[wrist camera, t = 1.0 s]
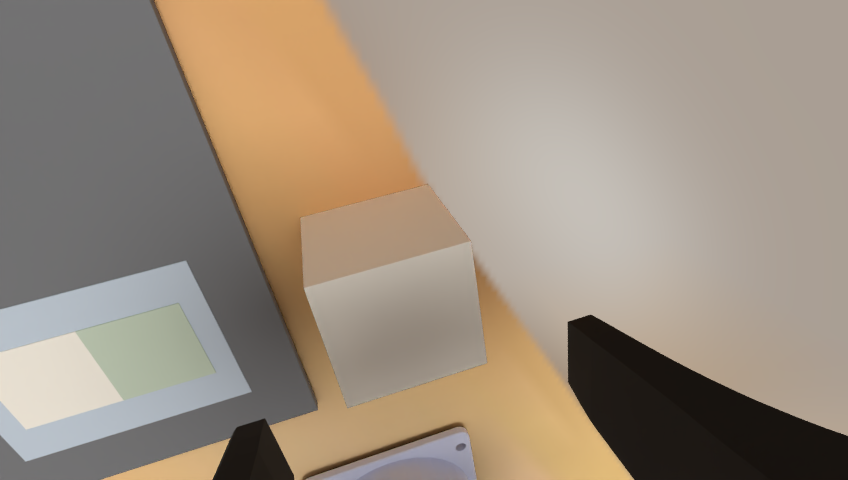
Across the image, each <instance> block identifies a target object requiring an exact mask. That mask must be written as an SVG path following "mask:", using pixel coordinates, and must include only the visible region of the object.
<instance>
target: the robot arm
mask: <svg viewBox="0 0 848 480" xmlns="http://www.w3.org/2000/svg"><path fill="white" fill-rule="evenodd" d="M568 382H569V384H570V386H571V388H572V390H573V392H574V393H575V395H576V397H577V399H578V400H579V402H580V404H581V406H582V407H583V409H584V411H585V412H586V414H587V416H588V417H589V419H590V421H591V422H592V423H593V425H594V426H595V428H596V429H597V430H598V432H599V433H600V434H601V436H602V437H603V438H604V440H605V441H606V442H607V444H608V445H609V446H610V448H611V449H612V451H613V452H614V453H615V454H616V456H617V457H618V458H619V460H620V461H621V462H622V464H623V465H624V466H625V468H626V469H627V470H628V472H629V473H630V474H631V476H632V477H633V478H634V480H848V436H846V435H844V434H841V433H837V432H835V431H832V430H829V429H826V428H824V427H821V426H818V425H816V424H813V423H810V422H808V421H805V420H802V419H800V418H797V417H795V416H792V415H790V414H788V413H785V412H783V411H780V410H778V409H775V408H773V407H771V406H768V405H766V404H763V403H761V402H758V401H756V400H754V399H752V398H749V397H747V396H745V395H743V394H740V393H738V392H736V391H734V390H732V389H729V388H728V387H725V386H723V385H721V384H719V383H717V382H715V381H713V380H711V379H709V378H707V377H705V376H703V375H701V374H699V373H697V372H695V371H692V370H691V369H689V368H687V367H685V366H683V365H681V364H679V363H677V362H675V361H673V360H672V359H670V358H668V357H666V356H664V355H662V354H660V353H659V352H657V351H655V350H653V349H651V348H649V347H648V346H646V345H644V344H642V343H640V342H639V341H637V340H635V339H633V338H631V337H630V336H628V335H626V334H625V333H623V332H621V331H619V330H617V329H615V328H614V327H612V326H610V325H609V324H607V323H605V322H603V321H602V320H600V319H598V318H596V317H594V316H593V315H588V316H585V317H582V318H579V319H575V320H573V321H569V322H568ZM213 480H294V475H293V473H292V471H291V469H290V467H289V465H288V463H287V461H286V459H285V457H284V455H283V453H282V451H281V449H280V447H279V445H278V443H277V441H276V439H275V437H274V435H273V433H272V431H271V429H270V427H269V425H268V423H267V421H266V419H265V418H264V419H261V420H258V421H254V422H251V423H248V424H245V425H242V426H239V427H236V429H235V430H234V432H233V434H232V436H231V439H230V441H229V443H228V446H227V448H226V450H225V453H224V455H223V457H222V459H221V462H220V464H219V466H218V469H217V471H216V473H215V475H214V477H213ZM305 480H477V477H476V472H475V466H474V461H473V455H472V449H471V444H470V438H469V435H468V432H467V430H466V428H464V427H455V428H452V429H450V430H447V431H444V432H441V433H438V434H435V435H432V436H429V437H426V438H423V439H420V440H417V441H414V442H411V443H409V444H406V445H403V446H400V447H397V448H394V449H391V450H388V451H385V452H382V453H379V454H376V455H373V456H370V457H368V458H365V459H362V460H359V461H356V462H353V463H350V464H347V465H344V466H341V467H338V468H335V469H332V470H329V471H327V472H324V473H321V474H318V475H315V476H312V477H309V478H307V479H305Z"/></svg>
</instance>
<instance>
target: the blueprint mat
mask: <svg viewBox="0 0 848 480" xmlns="http://www.w3.org/2000/svg"><path fill="white" fill-rule="evenodd" d="M316 410H318V405H317V400H316V398H315V396H314V393H313V391H312V388H311V386H310V383H309V381H308V378H307V376H306V373H305V371H304V369H303V366H302V364H301V361H300V359H299V356H298V354H297V351H296V349H295V346H294V344H293V341H292V339H291V337H290V334H289V332H288V329H287V327H286V324H285V322H284V319H283V317H282V314H281V312H280V310H279V307H278V305H277V302H276V300H275V297H274V295H273V292H272V290H271V287H270V285H269V283H268V280H267V278H266V275H265V273H264V270H263V268H262V265H261V263H260V260H259V258H258V256H257V253H256V251H255V248H254V246H253V243H252V241H251V238H250V236H249V233H248V231H247V229H246V226H245V224H244V221H243V219H242V216H241V214H240V211H239V209H238V206H237V204H236V202H235V199H234V197H233V194H232V192H231V189H230V187H229V184H228V182H227V179H226V177H225V175H224V172H223V170H222V167H221V165H220V162H219V160H218V157H217V155H216V152H215V150H214V148H213V145H212V143H211V140H210V138H209V135H208V133H207V130H206V128H205V125H204V123H203V120H202V118H201V116H200V113H199V111H198V108H197V106H196V103H195V101H194V98H193V96H192V93H191V91H190V89H189V86H188V84H187V81H186V79H185V76H184V74H183V71H182V69H181V66H180V64H179V62H178V59H177V57H176V54H175V52H174V49H173V47H172V44H171V42H170V39H169V37H168V35H167V32H166V30H165V27H164V25H163V22H162V20H161V17H160V15H159V12H158V10H157V8H156V5H155V3H154V0H0V480H101V479H104V478H107V477H110V476H113V475H116V474H119V473H123V472H126V471H129V470H132V469H135V468H138V467H141V466H144V465H147V464H151V463H154V462H157V461H160V460H163V459H166V458H169V457H172V456H175V455H179V454H182V453H185V452H188V451H191V450H194V449H197V448H200V447H204V446H207V445H210V444H213V443H216V442H219V441H222V440H225V439H228V438H231V436H232V434H233V432H234V430H235V429H236V427H239V426H242V425H245V424H248V423H251V422H254V421H258V420H261V419H264V418H265V419H266V421H267V423H268V425H272V424H275V423H278V422H281V421H285V420H288V419H291V418H294V417H297V416H300V415H303V414H306V413H309V412H313V411H316Z"/></svg>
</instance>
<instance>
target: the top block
mask: <svg viewBox="0 0 848 480" xmlns="http://www.w3.org/2000/svg"><path fill="white" fill-rule="evenodd" d="M300 219H301V241H302V263H303V285H304V291H305V293H306V296H307V299H308V302H309V304H310V307H311V310H312V312H313V315H314V318H315V321H316V323H317V326H318V329H319V332H320V334H321V337H322V340H323V343H324V345H325V348H326V351H327V354H328V356H329V359H330V362H331V364H332V367H333V370H334V373H335V375H336V378H337V381H338V384H339V386H340V389H341V392H342V395H343V397H344V400H345V403H346V405H347V408H350V407H353V406H356V405H359V404H362V403H365V402H369V401H372V400H375V399H378V398H381V397H384V396H387V395H390V394H393V393H396V392H399V391H403V390H406V389H409V388H412V387H415V386H418V385H421V384H424V383H427V382H430V381H433V380H437V379H440V378H443V377H446V376H449V375H452V374H455V373H458V372H461V371H464V370H467V369H471V368H474V367H477V366H480V365H483V364H486V363H487V357H486V350H485V342H484V335H483V327H482V320H481V312H480V305H479V297H478V289H477V282H476V274H475V267H474V259H473V252H472V244H471V240H470V239H469V238H468V236H467V235H466V234H465V232H464V231H463V230H462V228H461V227H460V226H459V224H458V223H457V222H456V220H455V219H454V218H453V217H452V215H451V214H450V213H449V211H448V210H447V209H446V207H445V206H444V205H443V203H442V202H441V201H440V199H439V198H438V197H437V195H436V194H435V193H434V191H433V190H432V189H431V187H430V186H429V185H428V184H426V185H423V186H420V187H416V188H412V189H408V190H404V191H400V192H397V193H393V194H389V195H385V196H381V197H377V198H373V199H370V200H366V201H362V202H358V203H354V204H350V205H346V206H343V207H339V208H335V209H331V210H327V211H323V212H320V213H316V214H312V215H308V216H304V217H300Z"/></svg>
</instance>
